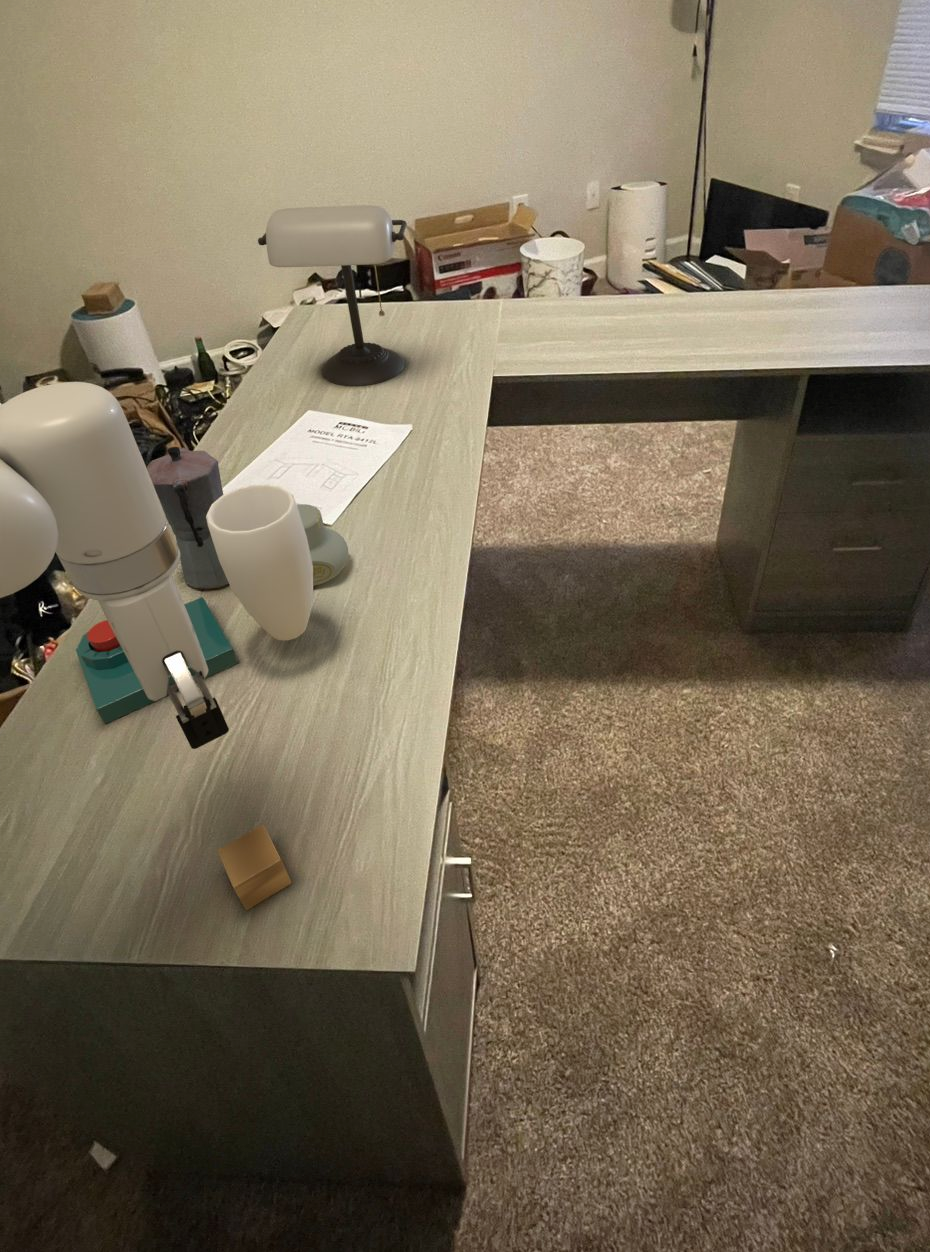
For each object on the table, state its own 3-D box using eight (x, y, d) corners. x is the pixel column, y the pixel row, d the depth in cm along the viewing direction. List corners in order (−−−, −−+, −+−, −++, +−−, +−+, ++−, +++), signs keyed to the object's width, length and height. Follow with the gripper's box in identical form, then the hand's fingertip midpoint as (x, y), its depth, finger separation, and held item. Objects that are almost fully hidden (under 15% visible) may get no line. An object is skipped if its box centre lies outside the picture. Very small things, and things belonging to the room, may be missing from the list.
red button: (96, 657, 88) (90, 647, 87) (89, 638, 91) (83, 628, 90) (130, 643, 90) (125, 633, 89) (123, 625, 93) (117, 615, 91)
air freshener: (350, 548, 110) (338, 493, 103) (352, 584, 103) (340, 527, 97) (275, 559, 108) (258, 504, 102) (273, 596, 102) (255, 539, 96)
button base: (105, 724, 86) (89, 699, 83) (83, 661, 94) (68, 636, 91) (238, 663, 92) (228, 638, 90) (207, 609, 100) (197, 584, 97)
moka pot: (241, 534, 113) (203, 418, 100) (262, 593, 103) (221, 472, 90) (177, 552, 110) (128, 435, 97) (191, 615, 99) (138, 493, 87)
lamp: (286, 402, 146) (241, 221, 125) (310, 351, 165) (274, 186, 143) (418, 398, 146) (396, 216, 124) (427, 347, 165) (409, 181, 143)
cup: (250, 680, 90) (197, 543, 76) (254, 623, 98) (206, 489, 84) (336, 665, 92) (299, 527, 78) (332, 609, 100) (298, 475, 86)
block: (246, 911, 68) (233, 887, 65) (230, 873, 71) (216, 849, 68) (291, 883, 70) (281, 859, 67) (274, 848, 73) (263, 823, 70)
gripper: (42, 517, 58) (122, 665, 69) (95, 640, 47) (179, 793, 58) (140, 484, 61) (201, 630, 72) (211, 592, 50) (270, 745, 61)
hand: (191, 703), depth 65 cm, fingers open, 9 cm apart
